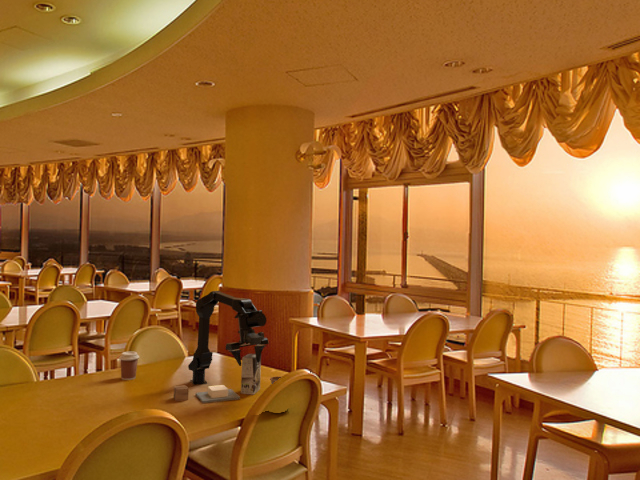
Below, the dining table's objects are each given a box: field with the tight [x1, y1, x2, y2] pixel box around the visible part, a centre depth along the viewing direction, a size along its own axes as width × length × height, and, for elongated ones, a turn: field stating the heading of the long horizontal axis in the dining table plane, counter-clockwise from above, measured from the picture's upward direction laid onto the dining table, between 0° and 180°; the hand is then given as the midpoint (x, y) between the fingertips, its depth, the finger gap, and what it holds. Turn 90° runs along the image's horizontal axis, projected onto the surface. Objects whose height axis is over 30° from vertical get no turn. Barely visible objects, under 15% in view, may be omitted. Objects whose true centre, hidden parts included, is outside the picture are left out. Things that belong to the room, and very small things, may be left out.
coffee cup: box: [118, 351, 140, 381], centre depth 246 cm, size 9×9×12 cm
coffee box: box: [240, 353, 262, 396], centre depth 232 cm, size 9×6×16 cm
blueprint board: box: [195, 384, 241, 404], centre depth 222 cm, size 12×16×4 cm
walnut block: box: [173, 385, 190, 402], centre depth 218 cm, size 5×5×5 cm
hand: (249, 364), depth 224 cm, fingers open, 9 cm apart
